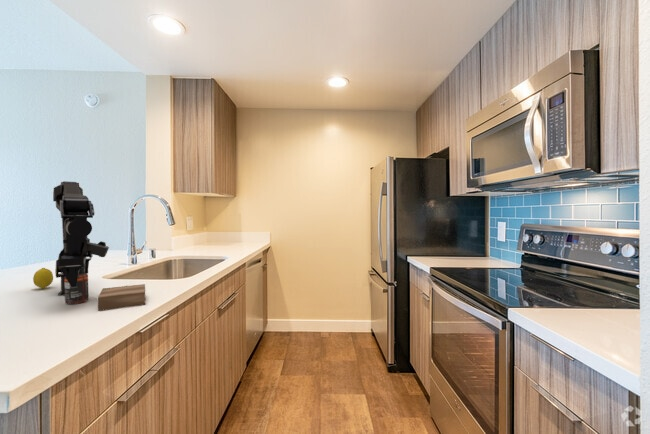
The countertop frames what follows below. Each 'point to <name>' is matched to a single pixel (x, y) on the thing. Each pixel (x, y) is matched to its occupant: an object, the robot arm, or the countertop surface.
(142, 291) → the walnut block
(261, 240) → the countertop surface
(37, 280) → the lemon
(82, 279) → the supplement bottle
